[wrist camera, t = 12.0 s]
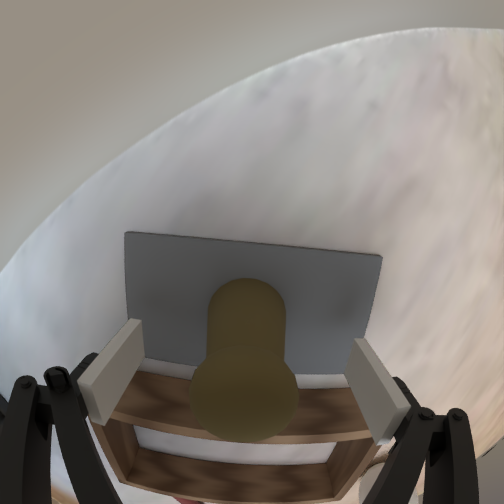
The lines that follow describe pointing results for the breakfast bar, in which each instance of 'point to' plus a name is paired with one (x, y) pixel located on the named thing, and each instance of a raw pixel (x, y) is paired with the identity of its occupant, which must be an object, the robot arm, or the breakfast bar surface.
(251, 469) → the wooden box
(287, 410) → the olive dumbbell shape
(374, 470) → the white bulb air blower
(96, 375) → the robot arm
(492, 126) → the breakfast bar surface
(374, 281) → the charcoal mat
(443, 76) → the breakfast bar surface
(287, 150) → the breakfast bar surface
